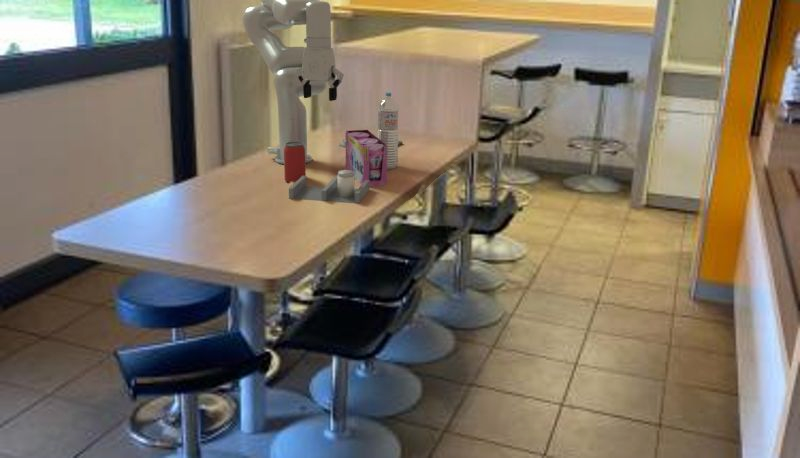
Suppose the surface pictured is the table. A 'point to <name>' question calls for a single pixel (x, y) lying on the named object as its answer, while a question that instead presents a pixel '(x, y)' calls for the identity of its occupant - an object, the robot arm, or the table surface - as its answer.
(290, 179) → the beer can
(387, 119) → the water bottle
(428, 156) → the table surface
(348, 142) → the gum box
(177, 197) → the table surface
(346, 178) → the shaker
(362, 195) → the organizer
